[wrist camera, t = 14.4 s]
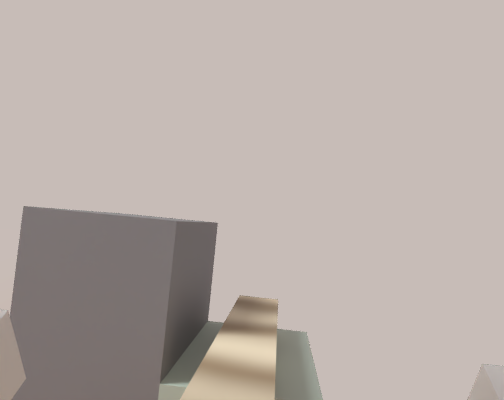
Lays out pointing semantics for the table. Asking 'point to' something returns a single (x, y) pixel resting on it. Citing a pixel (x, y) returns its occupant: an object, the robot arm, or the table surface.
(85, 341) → the step stand
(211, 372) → the beech bar
